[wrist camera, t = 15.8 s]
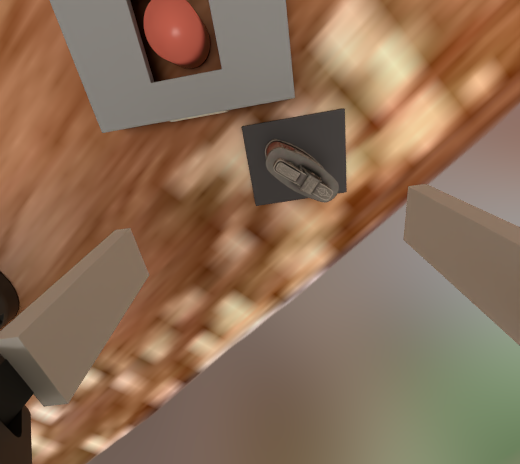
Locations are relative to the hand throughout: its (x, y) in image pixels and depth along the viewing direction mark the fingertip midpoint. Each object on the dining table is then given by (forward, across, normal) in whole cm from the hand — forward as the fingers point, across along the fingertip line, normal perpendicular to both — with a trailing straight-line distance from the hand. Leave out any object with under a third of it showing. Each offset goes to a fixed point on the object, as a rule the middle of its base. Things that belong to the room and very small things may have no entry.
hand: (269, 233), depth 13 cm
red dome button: (+22, -6, +13) cm, 26 cm away
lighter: (+22, +4, -1) cm, 22 cm away
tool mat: (+22, +4, -1) cm, 23 cm away
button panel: (+23, -6, +13) cm, 27 cm away
